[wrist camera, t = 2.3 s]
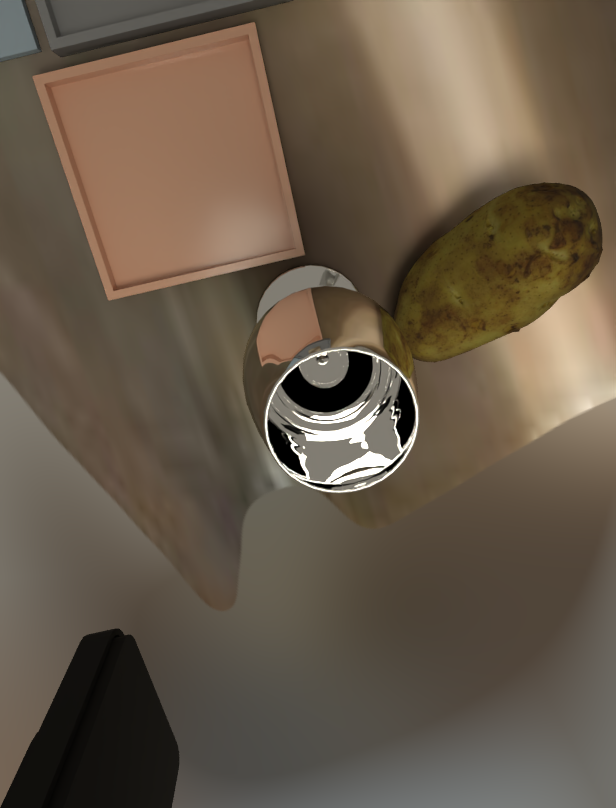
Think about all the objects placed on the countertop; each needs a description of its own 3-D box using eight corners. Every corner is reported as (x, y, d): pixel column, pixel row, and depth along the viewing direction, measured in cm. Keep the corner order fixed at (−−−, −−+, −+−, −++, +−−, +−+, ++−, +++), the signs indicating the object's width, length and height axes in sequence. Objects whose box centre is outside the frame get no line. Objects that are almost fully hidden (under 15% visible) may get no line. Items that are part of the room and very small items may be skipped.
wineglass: (311, 396, 40) (340, 558, 21) (231, 322, 38) (183, 428, 19) (390, 319, 39) (497, 419, 20) (310, 237, 36) (343, 261, 18)
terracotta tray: (255, 30, 33) (254, 21, 31) (303, 253, 37) (305, 254, 35) (42, 82, 33) (32, 76, 31) (115, 297, 37) (108, 300, 36)
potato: (355, 253, 37) (374, 263, 29) (537, 168, 36) (606, 155, 28) (400, 362, 40) (428, 397, 32) (571, 286, 38) (642, 304, 31)
